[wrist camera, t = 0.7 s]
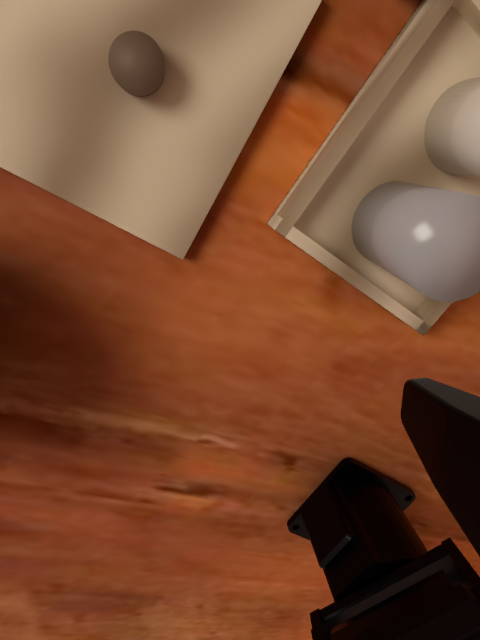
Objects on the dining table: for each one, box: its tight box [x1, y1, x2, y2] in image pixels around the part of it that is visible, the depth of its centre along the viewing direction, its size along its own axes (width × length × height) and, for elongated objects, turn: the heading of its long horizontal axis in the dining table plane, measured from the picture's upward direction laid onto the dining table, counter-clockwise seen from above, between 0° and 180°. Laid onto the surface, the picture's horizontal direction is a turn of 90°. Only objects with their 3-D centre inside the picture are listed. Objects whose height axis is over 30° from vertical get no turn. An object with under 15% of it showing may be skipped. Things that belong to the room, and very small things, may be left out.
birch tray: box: [267, 0, 480, 336], centre depth 20 cm, size 10×12×2 cm
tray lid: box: [0, 0, 322, 260], centre depth 16 cm, size 10×12×2 cm
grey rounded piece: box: [352, 181, 480, 302], centre depth 18 cm, size 4×4×6 cm
